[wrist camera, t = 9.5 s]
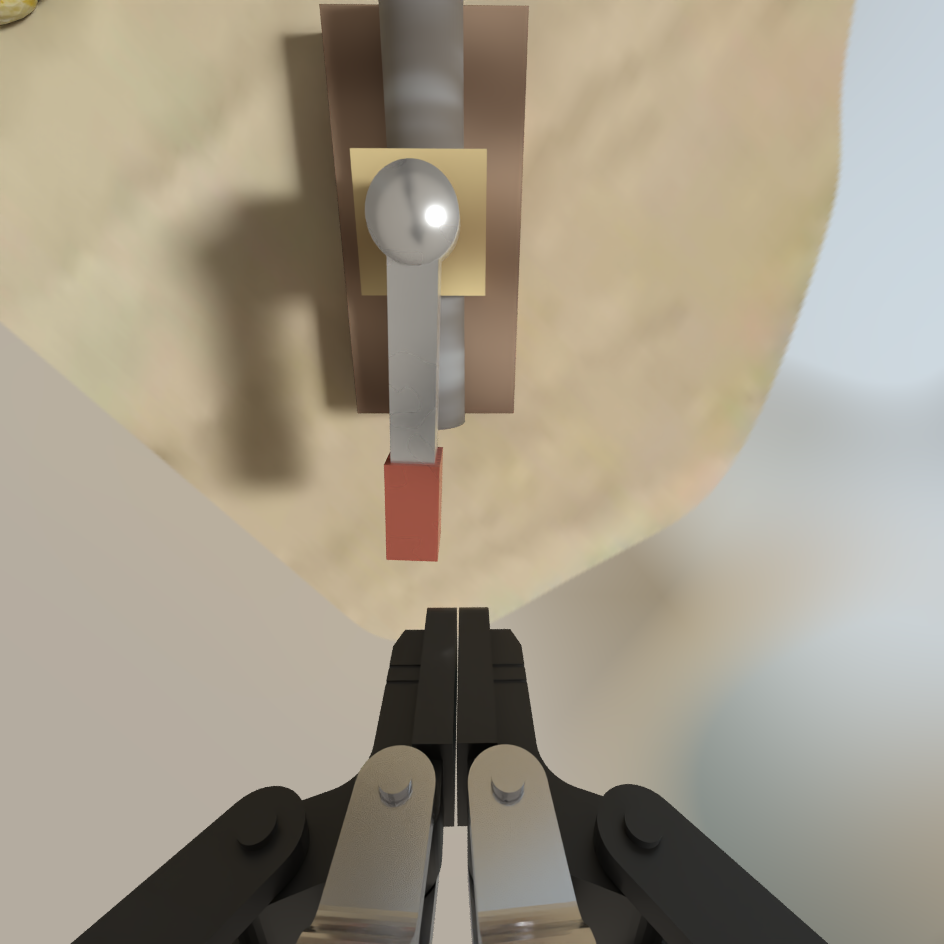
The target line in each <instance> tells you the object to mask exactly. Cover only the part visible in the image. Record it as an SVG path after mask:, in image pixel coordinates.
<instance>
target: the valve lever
mask: <svg viewBox="0 0 944 944" xmlns="http://www.w3.org/2000/svg"><path fill="white" fill-rule="evenodd" d="M365 219H366V223H367V227H368V230H369V233H370V235H371V237H372V239H373V241H374V242H375V244H376V245H377V246H378V248H379V249H380V250H381V251H382V252H383V253H384V254H385V255H387V306H388V357H389V408H390V453H389V455H388V458H387V460H386V462H385V464H384V479H385V519H386V558H387V560H411V561H438V552H439V543H440V534H441V498H442V459H443V447H438V405H439V358H440V311H441V264H442V261H444V260H445V259H446V258H447V257H448V256H449V255H450V254H451V252H452V251H453V249H454V248H455V246H456V244H457V241H458V238H459V233H460V214H459V206H458V200H457V197H456V194H455V191H454V189H453V187H452V185H451V183H450V182H449V180H448V179H447V177H446V176H445V175H444V174H443V173H442V172H441V171H440V170H439V169H438V168H437V167H435V166H434V165H432V164H430V163H428V162H426V161H423V160H420V159H414V158H405V159H399V160H396V161H393V162H391V163H390V164H388V165H386V166H385V167H384V168H382V169H381V170H380V171H379V172H378V173H377V175H376V176H375V177H374V179H373V180H372V182H371V184H370V186H369V189H368V191H367V195H366V200H365Z"/></svg>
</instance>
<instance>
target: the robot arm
mask: <svg viewBox="0 0 944 944" xmlns="http://www.w3.org/2000/svg"><path fill="white" fill-rule="evenodd" d="M457 699H458V700H457ZM457 703H458V704H457ZM456 708H457V709H456ZM456 710H457V711H456ZM456 712H457V813H458V814H457V816H458V826H468V890H469V905H470V920H471V935H472V944H828V943H827V942H826V941H825V940H823V939H822V938H821V937H820V936H819V935H818V934H817V933H816V932H814V931H813V930H812V929H811V928H810V927H809V926H808V925H806V924H805V923H804V922H803V921H802V920H801V919H800V918H798V917H797V916H796V915H795V914H794V913H793V912H792V911H790V910H789V909H788V908H787V907H786V906H785V905H784V904H783V903H781V902H780V901H779V900H778V899H777V898H776V897H775V896H774V895H772V894H771V893H770V892H769V891H768V890H767V889H766V888H765V887H763V886H762V885H761V884H760V883H759V882H758V881H757V880H755V879H754V878H753V877H752V876H751V875H750V874H749V873H748V872H746V871H745V870H744V869H743V868H742V867H741V866H740V865H738V864H737V863H736V862H735V861H734V860H733V859H731V857H729V856H728V855H727V854H726V853H724V851H722V850H721V849H720V848H719V847H718V846H717V845H716V844H715V843H714V842H712V841H711V840H710V839H709V838H708V837H707V836H705V835H704V834H703V833H702V832H701V831H700V830H699V829H698V828H696V827H695V826H694V825H693V824H692V823H691V822H690V821H689V820H687V819H686V818H685V817H684V816H683V815H682V814H680V813H679V812H678V811H677V810H676V809H675V808H674V807H672V805H670V804H669V803H668V802H667V801H666V800H665V799H663V798H662V797H661V796H660V795H658V794H657V793H655V792H653V791H652V790H649V789H647V788H645V787H641V786H638V785H632V784H624V785H619V786H615V787H614V788H612V789H610V790H609V791H608V792H606V793H605V794H604V796H600V795H597V794H595V793H592V792H588V791H586V790H583V789H580V788H577V787H574V786H572V785H569V784H567V783H565V782H564V781H562V780H561V779H559V778H558V777H557V776H555V775H554V774H553V773H552V772H551V771H550V770H549V769H548V767H547V766H546V765H545V763H544V762H543V760H542V758H541V757H540V754H539V752H538V749H537V744H536V738H535V732H534V725H533V718H532V712H531V706H530V699H529V692H528V686H527V682H526V673H525V668H524V660H523V653H522V647H521V644H520V643H519V641H518V640H517V638H516V637H515V636H514V634H513V633H512V631H511V630H510V629H490V624H489V610H488V607H469V608H459V648H458V698H457V608H427V614H426V623H425V630H405V631H404V632H403V634H402V635H401V636H400V638H399V639H398V640H397V642H396V643H395V645H394V646H393V650H392V656H391V660H390V668H389V671H388V676H387V684H386V686H385V691H384V696H383V701H382V706H381V711H380V716H379V721H378V726H377V731H376V736H375V741H374V746H373V750H372V753H371V755H370V757H369V759H368V761H367V762H366V763H365V764H364V765H363V767H362V768H361V770H360V772H359V773H358V774H357V775H356V776H355V777H353V778H352V779H351V780H350V781H348V782H347V783H345V784H343V785H342V786H340V787H338V788H335V789H333V790H331V791H328V792H325V793H322V794H319V795H316V796H313V797H310V798H308V799H305V800H301V799H300V797H299V796H298V795H297V794H296V793H295V792H294V791H293V790H291V789H289V788H285V787H282V786H271V787H265V788H262V789H259V790H256V791H254V792H252V793H250V794H248V795H247V796H245V797H243V798H242V799H241V800H239V801H238V802H237V803H235V804H234V805H233V806H232V807H231V808H230V809H229V810H227V811H226V812H225V813H224V814H223V815H221V816H220V817H219V818H218V819H217V820H215V822H213V823H212V824H211V825H210V826H208V827H207V828H206V829H205V830H204V831H203V832H201V833H200V834H199V835H198V836H197V837H195V838H194V839H193V840H192V841H191V842H190V843H188V844H187V845H186V846H185V847H184V848H183V849H181V850H180V851H179V852H178V853H177V854H176V855H174V856H173V857H172V858H171V859H170V860H168V861H167V862H166V863H165V864H164V865H163V866H161V867H160V868H159V869H158V870H157V871H156V872H155V873H153V874H152V875H151V876H150V877H148V878H147V879H146V880H145V881H144V882H143V883H141V884H140V885H139V886H138V887H137V888H136V889H134V890H133V891H132V892H131V893H130V894H129V895H127V896H126V897H125V898H124V899H123V900H122V901H120V902H119V903H118V904H117V905H116V906H115V907H113V908H112V909H111V910H110V911H109V912H107V913H106V914H105V915H104V916H103V917H101V918H100V919H99V920H98V921H97V922H96V923H95V924H93V925H92V926H91V927H90V928H89V929H87V930H86V931H85V932H84V933H83V934H82V935H80V936H79V937H78V938H77V939H76V940H74V941H73V942H72V943H71V944H432V938H433V930H434V920H435V911H436V901H437V892H438V883H439V872H440V868H441V862H442V846H443V827H445V826H448V827H449V826H454V809H455V760H456V759H455V758H456Z"/></svg>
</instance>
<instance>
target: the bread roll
mask: <svg viewBox="0 0 944 944" xmlns="http://www.w3.org/2000/svg"><path fill="white" fill-rule="evenodd" d="M37 2H38V0H0V25H2V24H7V23H10V22H13V21H16V20H19V19H22V18H24V17H25V16H27V15H28V14H29V13H31V12H32V11H33V10H34V9H35V7H36V5H37Z"/></svg>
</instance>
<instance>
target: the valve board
mask: <svg viewBox="0 0 944 944" xmlns="http://www.w3.org/2000/svg"><path fill="white" fill-rule="evenodd" d="M319 5H320V16H321V27H322V37H323V48H324V59H325V69H326V80H327V91H328V101H329V112H330V123H331V133H332V144H333V155H334V165H335V176H336V187H337V197H338V208H339V219H340V229H341V240H342V251H343V261H344V272H345V283H346V293H347V304H348V315H349V325H350V336H351V347H352V358H353V368H354V379H355V390H356V400H357V411H358V413H390V408H389V357H388V306H387V255H385V254H384V253H383V252H382V251H381V250H380V249H379V248H378V246H377V245H376V244H375V242H374V241H373V239H372V237H371V235H370V233H369V230H368V227H367V223H366V219H365V200H366V195H367V191H368V189H369V186H370V184H371V182H372V180H373V179H374V177H375V176H376V175H377V173H378V172H379V171H380V170H381V169H382V168H384V167H385V166H386V165H388V164H390V163H391V162H393V161H396V160H399V159H405V158H414V159H420V160H423V161H426V162H428V163H430V164H432V165H434V166H435V167H437V168H438V169H439V170H440V171H441V172H442V173H443V174H444V175H445V176H446V177H447V179H448V180H449V182H450V183H451V185H452V187H453V189H454V191H455V194H456V197H457V200H458V206H459V214H460V233H459V238H458V241H457V244H456V246H455V248H454V249H453V251H452V252H451V254H450V255H449V256H448V257H447V258H446V259H445V260H444V261H442V264H441V311H440V358H439V405H438V430H443V429H450V428H455V427H458V426H460V425H462V424H463V423H464V422H465V413H514V389H515V362H516V335H517V308H518V282H519V255H520V228H521V201H522V174H523V148H524V121H525V94H526V67H527V40H528V14H529V6H493V5H463V0H379V5H366V4H319Z"/></svg>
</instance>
